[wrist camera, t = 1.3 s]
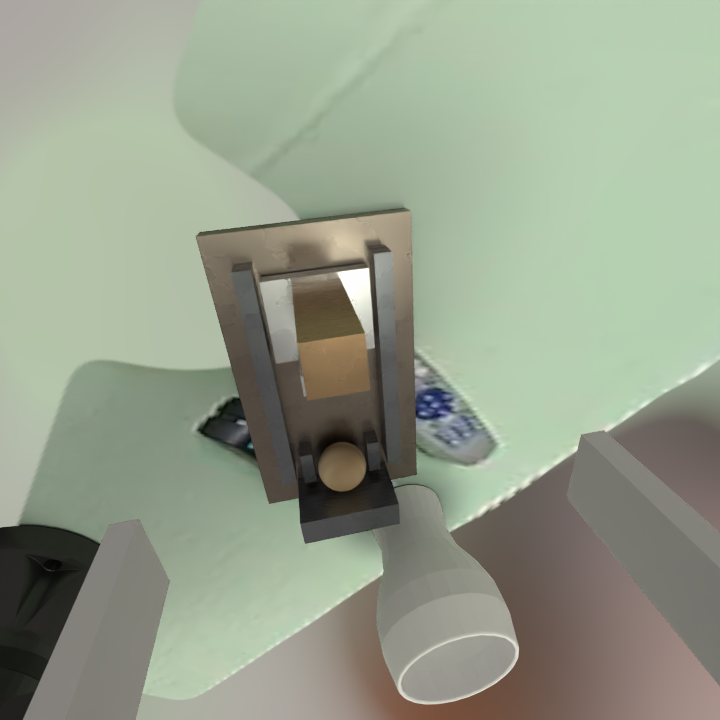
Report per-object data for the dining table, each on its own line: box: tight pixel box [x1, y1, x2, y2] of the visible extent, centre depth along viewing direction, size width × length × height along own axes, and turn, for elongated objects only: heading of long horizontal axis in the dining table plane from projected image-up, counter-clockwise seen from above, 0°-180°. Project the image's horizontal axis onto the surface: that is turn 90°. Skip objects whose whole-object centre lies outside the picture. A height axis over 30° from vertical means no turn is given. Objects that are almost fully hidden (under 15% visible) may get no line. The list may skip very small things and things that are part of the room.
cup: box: [372, 485, 519, 704], centre depth 36 cm, size 11×11×15 cm
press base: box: [196, 208, 417, 544], centre depth 31 cm, size 14×24×6 cm, turn 5°
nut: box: [318, 442, 366, 491], centre depth 34 cm, size 4×4×4 cm
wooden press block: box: [259, 263, 375, 401], centre depth 25 cm, size 7×8×10 cm
